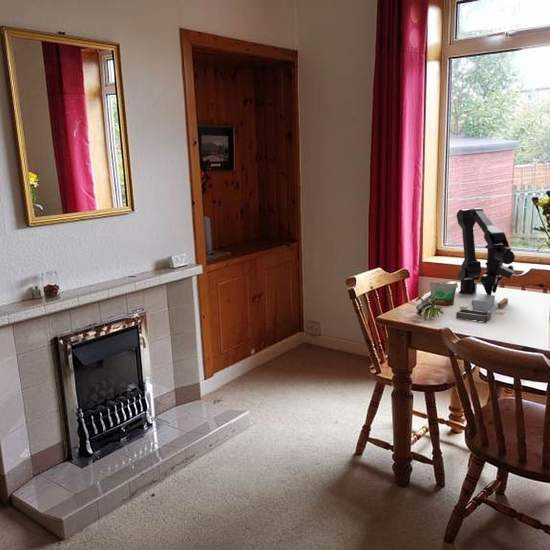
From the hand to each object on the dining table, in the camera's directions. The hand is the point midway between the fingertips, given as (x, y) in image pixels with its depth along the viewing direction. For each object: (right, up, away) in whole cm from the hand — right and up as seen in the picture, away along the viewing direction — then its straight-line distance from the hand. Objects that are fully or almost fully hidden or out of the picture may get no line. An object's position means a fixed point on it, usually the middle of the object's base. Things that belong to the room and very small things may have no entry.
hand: (491, 294), depth 245 cm
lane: (-1, -4, -1) cm, 4 cm away
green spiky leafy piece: (-33, -9, -18) cm, 38 cm away
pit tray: (-16, -9, -21) cm, 28 cm away
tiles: (-8, -6, -11) cm, 15 cm away
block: (-7, -6, -8) cm, 12 cm away
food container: (-22, -5, -1) cm, 23 cm away
